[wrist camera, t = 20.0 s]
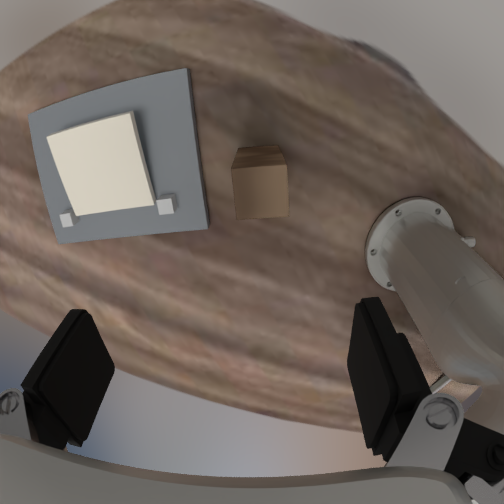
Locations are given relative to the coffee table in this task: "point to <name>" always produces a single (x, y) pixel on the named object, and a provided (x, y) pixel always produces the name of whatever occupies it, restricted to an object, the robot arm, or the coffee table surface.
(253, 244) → the coffee table surface
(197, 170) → the board
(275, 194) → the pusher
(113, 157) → the tile
